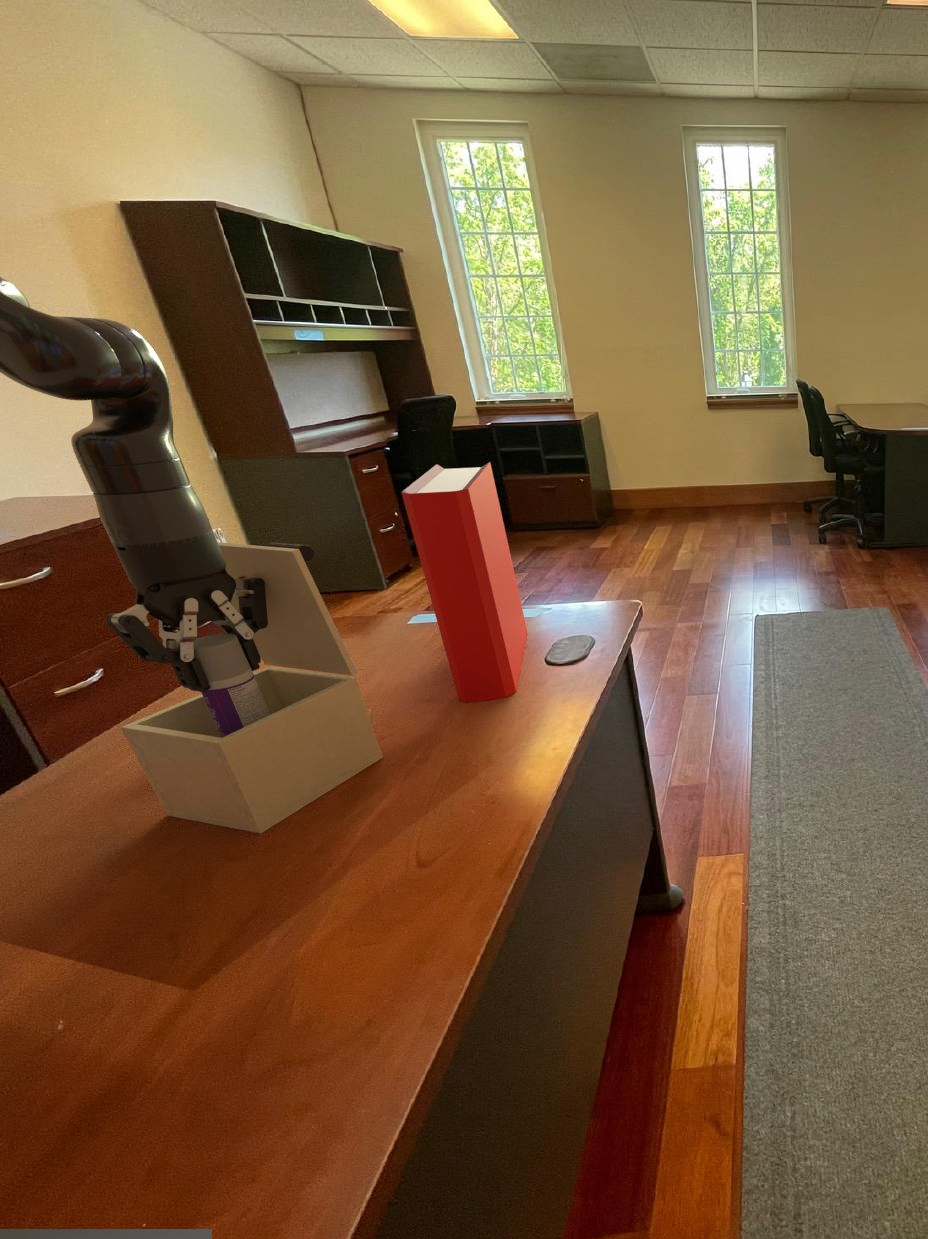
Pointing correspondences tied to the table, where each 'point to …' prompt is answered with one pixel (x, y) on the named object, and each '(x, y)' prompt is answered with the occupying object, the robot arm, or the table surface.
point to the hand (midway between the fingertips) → (225, 678)
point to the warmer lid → (290, 608)
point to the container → (229, 683)
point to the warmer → (257, 751)
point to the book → (469, 578)
